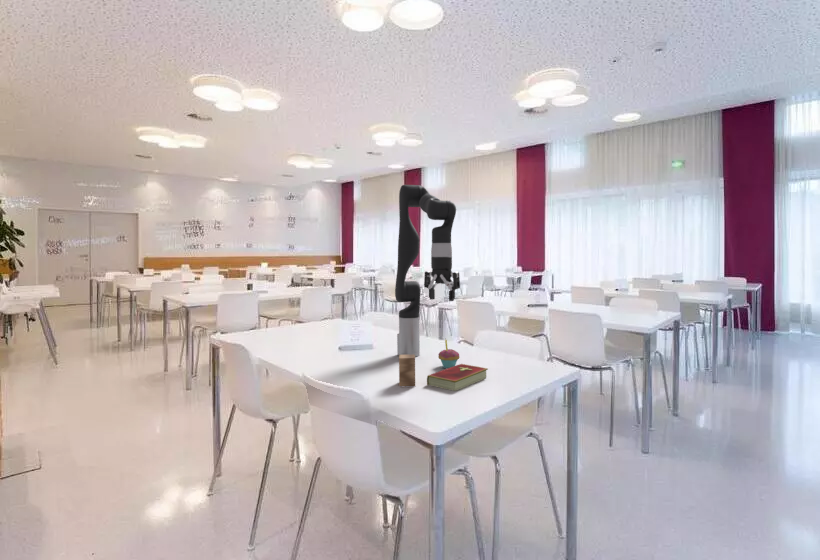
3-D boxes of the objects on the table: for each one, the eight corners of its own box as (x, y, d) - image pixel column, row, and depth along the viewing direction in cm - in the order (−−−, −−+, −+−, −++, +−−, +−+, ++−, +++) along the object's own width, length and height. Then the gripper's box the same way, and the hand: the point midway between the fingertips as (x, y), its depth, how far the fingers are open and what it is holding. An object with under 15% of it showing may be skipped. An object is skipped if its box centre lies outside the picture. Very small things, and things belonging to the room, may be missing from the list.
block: (399, 386, 156) (399, 358, 156) (399, 382, 162) (399, 354, 161) (415, 386, 156) (415, 358, 156) (414, 382, 162) (414, 354, 161)
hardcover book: (426, 386, 158) (426, 374, 158) (460, 373, 174) (460, 362, 174) (455, 392, 151) (455, 380, 150) (487, 379, 167) (487, 367, 166)
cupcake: (450, 370, 177) (450, 340, 176) (433, 367, 183) (433, 337, 182) (463, 366, 183) (463, 337, 182) (447, 363, 189) (446, 334, 188)
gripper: (419, 255, 167) (420, 299, 168) (452, 255, 158) (452, 302, 159) (431, 255, 173) (432, 298, 174) (463, 255, 164) (463, 300, 165)
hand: (441, 300), depth 166 cm, fingers open, 8 cm apart
